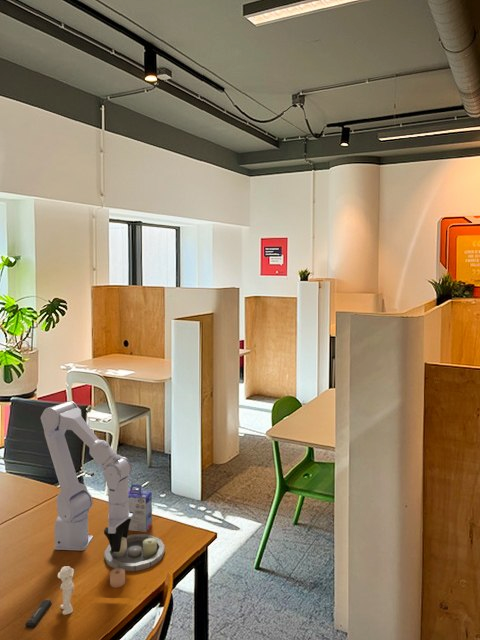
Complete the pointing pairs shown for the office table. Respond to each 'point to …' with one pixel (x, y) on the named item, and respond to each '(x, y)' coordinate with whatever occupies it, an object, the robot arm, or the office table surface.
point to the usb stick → (38, 614)
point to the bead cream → (122, 548)
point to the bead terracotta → (117, 577)
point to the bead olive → (149, 547)
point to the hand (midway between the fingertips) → (119, 544)
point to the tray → (134, 554)
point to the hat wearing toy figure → (66, 588)
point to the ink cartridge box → (140, 509)
